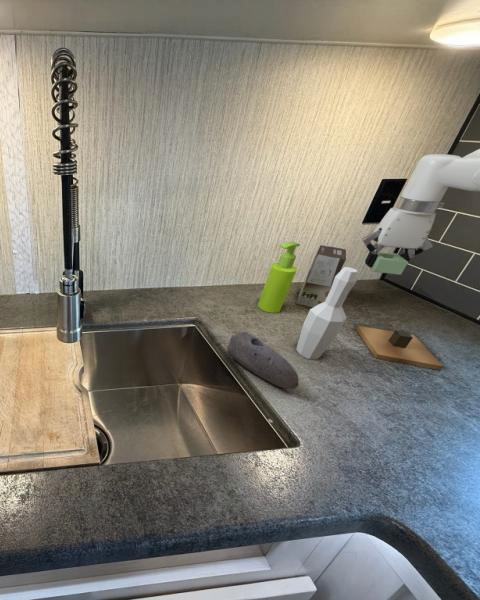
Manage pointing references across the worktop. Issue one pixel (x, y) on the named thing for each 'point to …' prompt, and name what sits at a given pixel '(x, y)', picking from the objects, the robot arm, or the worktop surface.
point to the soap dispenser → (279, 280)
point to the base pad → (398, 347)
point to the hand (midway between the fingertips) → (383, 266)
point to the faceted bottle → (326, 317)
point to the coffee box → (321, 275)
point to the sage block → (389, 263)
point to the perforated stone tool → (262, 360)
